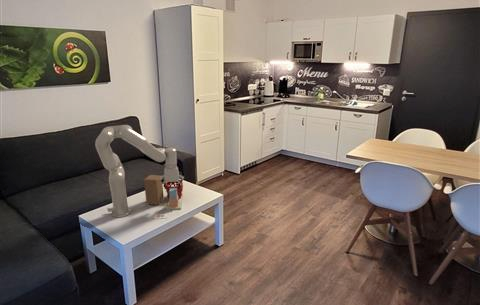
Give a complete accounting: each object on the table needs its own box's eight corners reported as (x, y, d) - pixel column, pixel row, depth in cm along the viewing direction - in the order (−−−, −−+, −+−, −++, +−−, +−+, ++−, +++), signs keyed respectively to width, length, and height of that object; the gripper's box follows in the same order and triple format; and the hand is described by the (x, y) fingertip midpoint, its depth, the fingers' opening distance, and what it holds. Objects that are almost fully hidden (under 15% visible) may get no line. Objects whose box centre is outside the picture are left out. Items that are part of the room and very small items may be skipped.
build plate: (166, 210, 224) (166, 208, 224) (168, 203, 233) (168, 202, 233) (180, 209, 225) (180, 207, 225) (181, 202, 234) (181, 201, 234)
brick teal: (169, 199, 224) (169, 191, 223) (170, 196, 229) (169, 188, 227) (176, 198, 225) (176, 191, 223) (177, 195, 230) (176, 188, 228)
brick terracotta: (169, 207, 226) (169, 199, 224) (170, 203, 231) (169, 195, 229) (178, 206, 226) (177, 199, 224) (178, 202, 232) (178, 195, 230)
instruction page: (154, 218, 212) (154, 218, 212) (155, 214, 218) (155, 214, 217) (166, 218, 213) (166, 217, 213) (167, 213, 218) (167, 213, 218)
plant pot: (163, 199, 240) (162, 185, 237) (171, 192, 252) (170, 178, 249) (178, 201, 236) (177, 187, 233) (186, 194, 248) (185, 180, 245)
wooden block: (158, 205, 231) (156, 180, 225) (146, 204, 233) (143, 179, 227) (164, 199, 240) (162, 175, 234) (152, 198, 242) (149, 174, 236)
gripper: (157, 167, 216) (159, 190, 221) (183, 167, 218) (184, 190, 223) (159, 163, 224) (160, 186, 228) (184, 163, 225) (184, 185, 230)
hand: (172, 188), depth 226 cm, fingers open, 9 cm apart
